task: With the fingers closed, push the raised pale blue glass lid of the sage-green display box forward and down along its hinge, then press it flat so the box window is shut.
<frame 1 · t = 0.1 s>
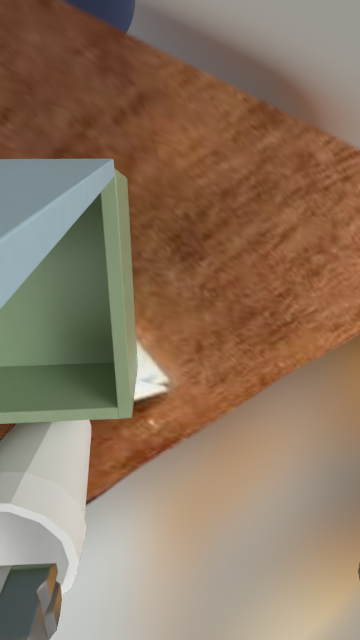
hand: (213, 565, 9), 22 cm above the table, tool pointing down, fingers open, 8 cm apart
display box: (48, 282, 28), on the table
foam cup: (58, 425, 33), on the table
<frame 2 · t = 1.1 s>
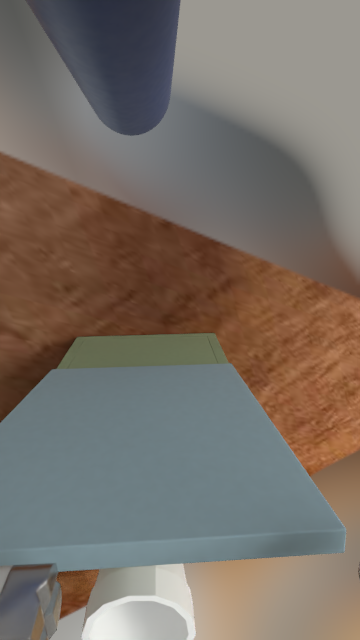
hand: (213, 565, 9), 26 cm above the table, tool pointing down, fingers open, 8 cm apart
display box: (149, 403, 37), on the table
foam cup: (144, 505, 41), on the table
hatch: (136, 422, 18), point 17 cm above the table, hinge at 97.1°
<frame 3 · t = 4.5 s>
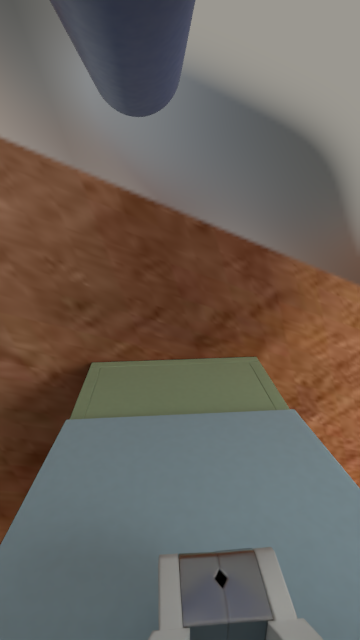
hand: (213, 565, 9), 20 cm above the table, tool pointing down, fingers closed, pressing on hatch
display box: (176, 437, 31), on the table
hatch: (198, 534, 13), point 17 cm above the table, hinge at 97.0°, touching gripper
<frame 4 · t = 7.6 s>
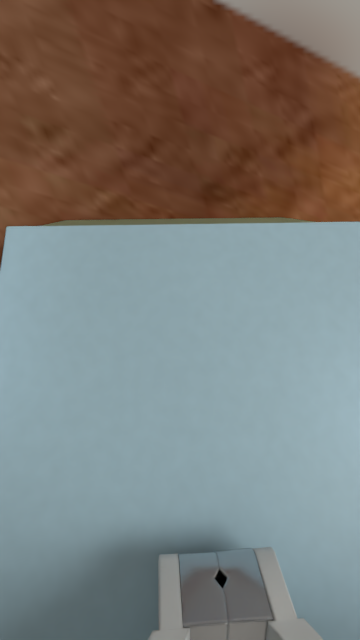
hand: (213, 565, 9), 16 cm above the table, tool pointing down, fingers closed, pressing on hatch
display box: (177, 335, 24), on the table
hatch: (202, 453, 11), point 14 cm above the table, hinge at 39.0°, touching gripper
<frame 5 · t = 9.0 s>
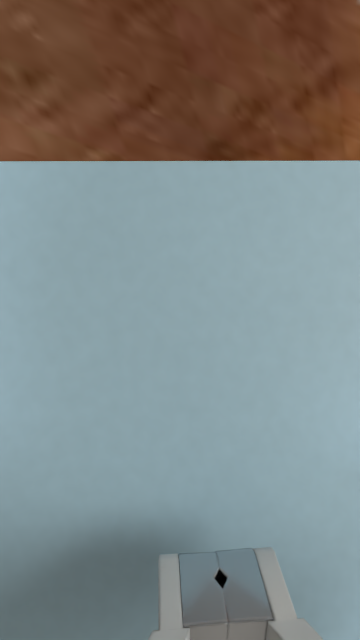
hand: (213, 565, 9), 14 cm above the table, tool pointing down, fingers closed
hatch: (200, 426, 11), point 11 cm above the table, hinge at 18.3°
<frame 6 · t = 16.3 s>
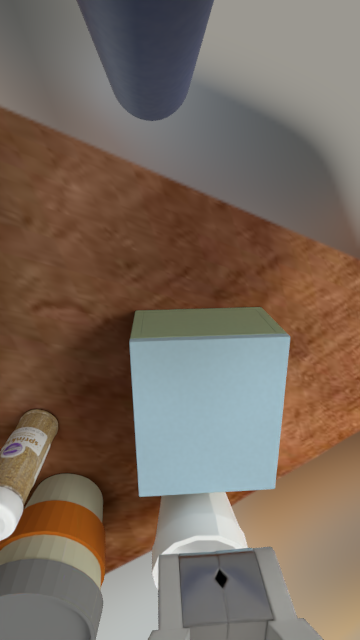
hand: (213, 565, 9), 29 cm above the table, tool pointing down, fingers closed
display box: (198, 373, 40), on the table
reusable coffee cup: (68, 499, 45), on the table
sprinkles bottle: (40, 423, 41), on the table
foam cup: (189, 468, 45), on the table
hatch: (208, 420, 32), point 8 cm above the table, hinge at 0.4°
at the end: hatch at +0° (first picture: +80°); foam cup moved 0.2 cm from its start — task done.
